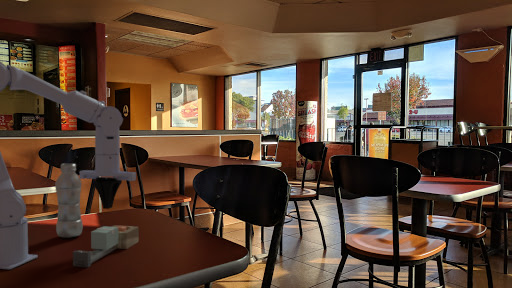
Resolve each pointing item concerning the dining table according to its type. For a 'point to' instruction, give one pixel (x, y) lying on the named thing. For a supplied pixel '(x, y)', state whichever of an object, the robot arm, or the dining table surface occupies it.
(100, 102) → the robot arm
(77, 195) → the plastic bottle
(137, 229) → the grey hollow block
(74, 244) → the dining table surface
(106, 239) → the block
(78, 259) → the rail
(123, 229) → the button
